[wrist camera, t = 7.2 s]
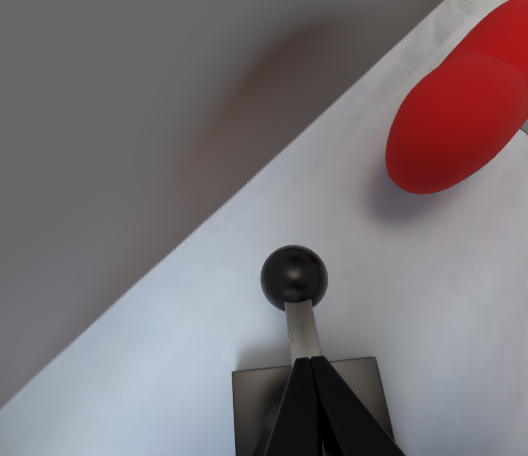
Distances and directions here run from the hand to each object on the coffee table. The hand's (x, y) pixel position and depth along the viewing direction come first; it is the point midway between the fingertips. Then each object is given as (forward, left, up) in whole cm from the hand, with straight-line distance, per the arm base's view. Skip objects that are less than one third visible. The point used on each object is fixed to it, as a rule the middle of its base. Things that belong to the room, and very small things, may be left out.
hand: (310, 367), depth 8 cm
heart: (+14, -7, -10) cm, 19 cm away
